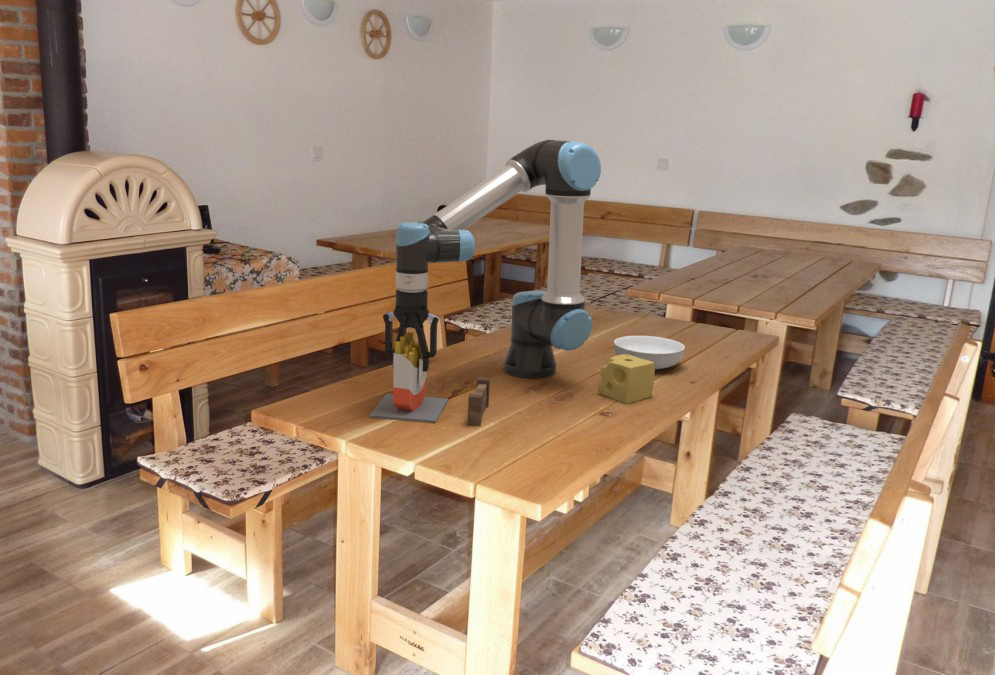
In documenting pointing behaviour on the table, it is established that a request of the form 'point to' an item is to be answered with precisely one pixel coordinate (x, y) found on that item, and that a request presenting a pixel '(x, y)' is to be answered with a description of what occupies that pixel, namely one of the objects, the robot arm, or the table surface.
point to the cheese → (627, 378)
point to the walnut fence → (478, 401)
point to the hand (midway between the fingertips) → (410, 382)
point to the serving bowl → (651, 349)
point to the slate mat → (424, 413)
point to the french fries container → (407, 374)
